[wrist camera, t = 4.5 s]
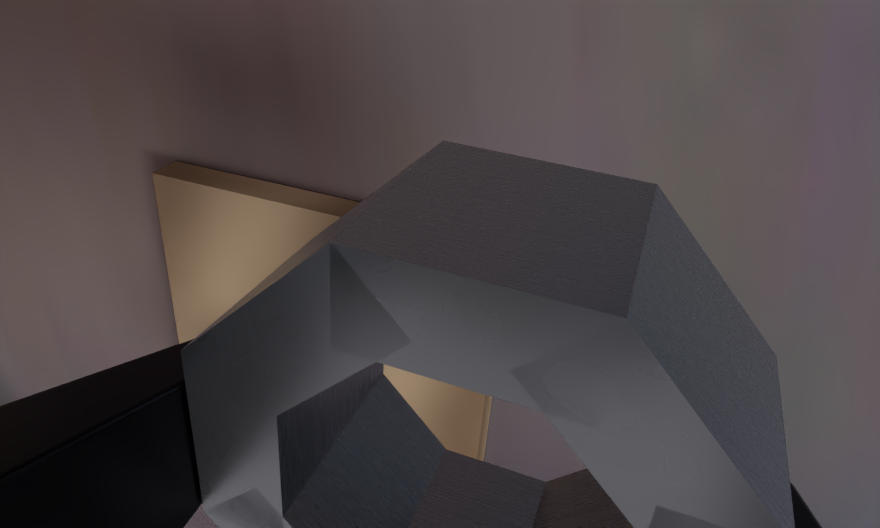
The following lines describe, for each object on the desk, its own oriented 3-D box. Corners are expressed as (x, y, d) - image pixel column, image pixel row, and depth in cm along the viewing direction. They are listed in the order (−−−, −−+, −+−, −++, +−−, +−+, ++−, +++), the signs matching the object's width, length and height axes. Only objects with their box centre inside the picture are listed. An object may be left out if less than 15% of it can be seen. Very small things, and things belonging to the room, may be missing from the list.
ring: (832, 219, 7) (886, 384, 5) (681, 584, 11) (668, 793, 8) (311, 113, 9) (157, 197, 7) (318, 456, 12) (215, 598, 10)
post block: (514, 236, 20) (450, 342, 15) (476, 511, 26) (422, 647, 22) (176, 161, 23) (38, 229, 19) (212, 421, 29) (115, 522, 25)
